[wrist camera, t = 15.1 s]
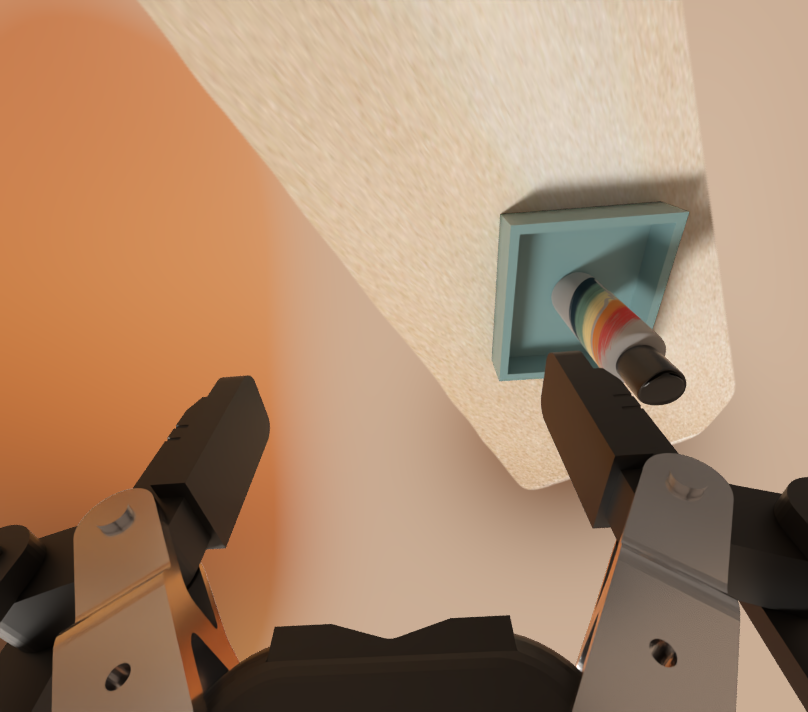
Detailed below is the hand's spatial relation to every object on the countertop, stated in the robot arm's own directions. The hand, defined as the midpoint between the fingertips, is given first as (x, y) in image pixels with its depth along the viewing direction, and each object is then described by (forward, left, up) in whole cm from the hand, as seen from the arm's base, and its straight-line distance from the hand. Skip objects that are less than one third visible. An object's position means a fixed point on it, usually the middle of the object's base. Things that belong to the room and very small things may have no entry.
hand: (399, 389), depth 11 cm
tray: (+15, +20, -37) cm, 45 cm away
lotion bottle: (+15, +20, -36) cm, 44 cm away
